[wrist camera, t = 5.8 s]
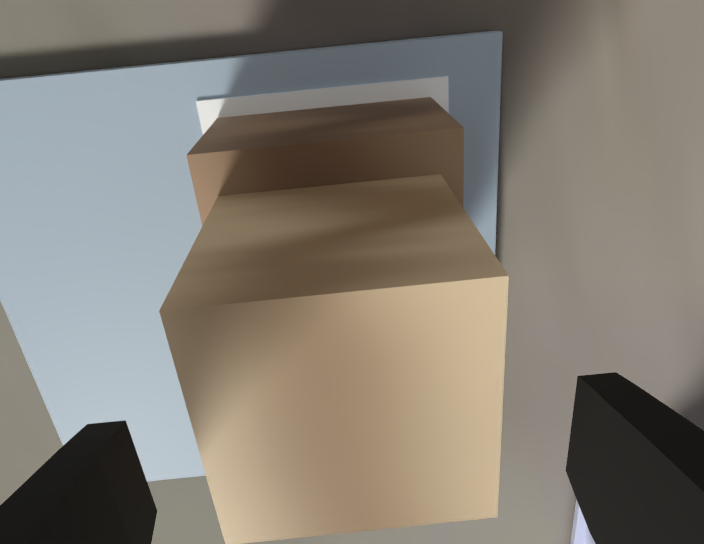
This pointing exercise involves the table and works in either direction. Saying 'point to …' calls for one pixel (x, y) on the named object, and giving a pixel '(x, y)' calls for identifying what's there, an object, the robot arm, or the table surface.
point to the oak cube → (342, 359)
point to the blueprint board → (174, 205)
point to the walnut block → (327, 149)
